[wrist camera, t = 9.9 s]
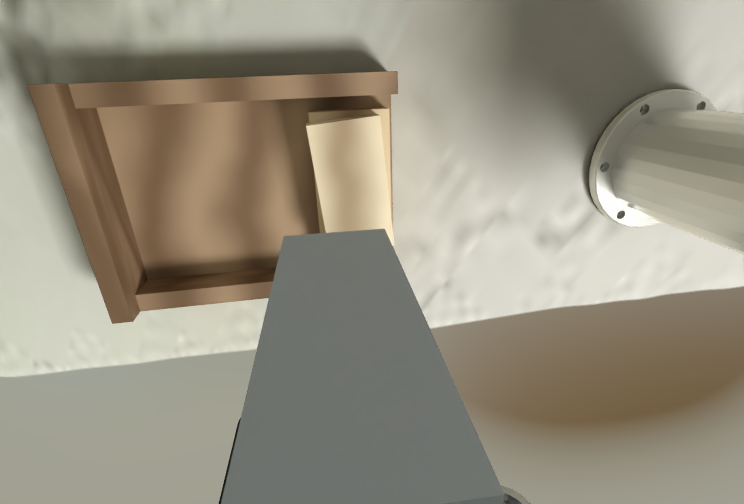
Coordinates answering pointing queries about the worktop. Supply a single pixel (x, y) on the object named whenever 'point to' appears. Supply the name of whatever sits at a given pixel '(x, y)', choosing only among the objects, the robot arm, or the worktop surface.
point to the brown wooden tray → (192, 178)
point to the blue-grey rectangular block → (352, 389)
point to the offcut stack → (352, 168)
